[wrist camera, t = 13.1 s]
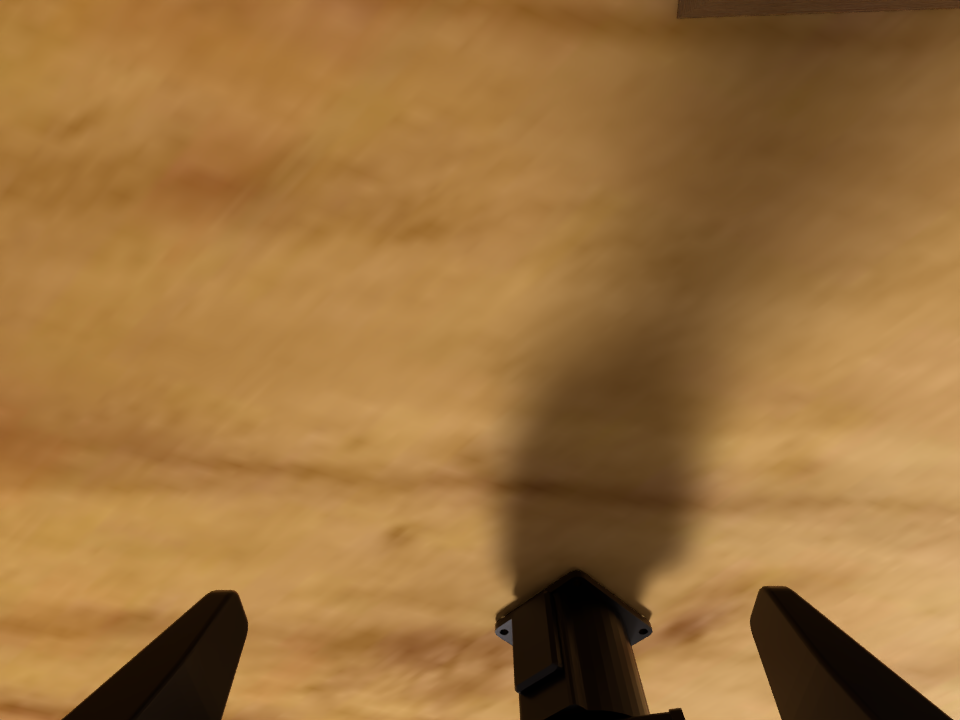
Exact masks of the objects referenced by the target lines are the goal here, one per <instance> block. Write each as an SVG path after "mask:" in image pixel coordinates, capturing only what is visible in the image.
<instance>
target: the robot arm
mask: <svg viewBox="0 0 960 720" xmlns="http://www.w3.org/2000/svg"><path fill="white" fill-rule="evenodd" d="M750 626H751V631H752V635H753V638H754V640H755V643H756V646H757V649H758V652H759V655H760V658H761V661H762V664H763V667H764V669H765V672H766V675H767V678H768V681H769V684H770V687H771V690H772V693H773V696H774V698H775V701H776V704H777V707H778V710H779V713H780V716H781V719H782V720H953V719H952V718H950V717H949V716H948V715H947V714H946V713H944V712H943V711H942V710H941V709H939V708H938V707H937V706H936V705H934V704H933V703H932V702H931V701H929V700H928V699H927V698H926V697H924V696H923V695H922V694H921V693H919V692H918V691H917V690H916V689H915V688H913V687H912V686H911V685H910V684H908V683H907V682H906V681H905V680H903V679H902V678H901V677H900V676H898V675H897V674H896V673H895V672H893V671H892V670H891V669H890V668H888V667H887V666H886V665H885V664H884V663H882V662H881V661H880V660H879V659H877V658H876V657H875V656H874V655H872V654H871V653H870V652H869V651H867V650H866V649H865V648H864V647H862V646H861V645H860V644H859V643H857V642H856V641H855V640H854V639H853V638H851V637H850V636H849V635H848V634H846V633H845V632H844V631H843V630H841V629H840V628H839V627H838V626H836V625H835V624H834V623H833V622H831V621H830V620H829V619H828V618H826V617H825V616H824V615H823V614H821V613H820V612H819V611H818V610H817V609H815V608H814V607H813V606H812V605H810V604H809V603H808V602H807V601H805V600H804V599H803V598H802V597H800V596H799V595H798V594H797V593H795V592H794V591H793V590H791V589H790V588H788V587H785V586H764V587H762V588H761V589H760V590H759V592H758V595H757V598H756V601H755V604H754V608H753V611H752V614H751V618H750ZM247 631H248V621H247V617H246V614H245V611H244V609H243V606H242V603H241V600H240V597H239V595H238V593H237V592H236V591H234V590H215V591H211V592H210V593H208V594H207V595H205V596H204V597H203V598H202V599H201V600H199V601H198V602H197V603H196V604H195V605H194V606H192V607H191V608H190V609H189V610H188V611H187V612H186V613H184V614H183V615H182V616H181V617H180V618H179V619H177V620H176V621H175V622H174V623H173V624H172V625H171V626H169V627H168V628H167V629H166V630H165V631H164V632H162V633H161V634H160V635H159V636H158V637H157V638H155V639H154V640H153V641H152V642H151V643H150V644H149V645H147V646H146V647H145V648H144V649H143V650H142V651H140V652H139V653H138V654H137V655H136V656H135V657H134V658H132V659H131V660H130V661H129V662H128V663H127V664H125V665H124V666H123V667H122V668H121V669H120V670H118V671H117V672H116V673H115V674H114V675H113V676H112V677H110V678H109V679H108V680H107V681H106V682H105V683H103V684H102V685H101V686H100V687H99V688H98V689H97V690H95V691H94V692H93V693H92V694H91V695H90V696H88V697H87V698H86V699H85V700H84V701H83V702H81V703H80V704H79V705H78V706H77V707H76V708H75V709H73V710H72V711H71V712H70V713H69V714H68V715H66V716H65V717H64V718H63V719H62V720H221V719H222V716H223V713H224V709H225V706H226V703H227V699H228V696H229V693H230V689H231V686H232V683H233V679H234V676H235V673H236V669H237V666H238V663H239V659H240V656H241V653H242V650H243V646H244V643H245V640H246V636H247ZM495 633H496V635H497V636H498V637H500V638H501V639H503V640H505V641H506V642H508V643H509V644H511V645H512V646H513V661H514V683H515V691H516V692H517V693H519V706H520V720H685V718H684V715H683V712H682V710H681V708H676V709H669V712H665V713H657V714H650V712H649V709H648V705H647V701H646V698H645V694H644V690H643V687H642V683H641V679H640V675H639V672H638V668H637V664H636V661H635V657H634V653H633V650H632V645H634V644H636V643H637V642H639V641H641V640H643V639H644V638H646V637H648V636H649V635H651V633H652V627H651V624H650V622H649V621H648V620H647V619H645V618H644V617H643V616H641V615H640V614H639V613H637V612H636V611H635V610H633V609H632V608H631V607H629V606H628V605H627V604H625V603H624V602H622V601H621V600H620V599H618V598H617V597H616V596H614V595H613V594H612V593H610V592H609V591H608V590H606V589H605V588H604V587H602V586H601V585H600V584H598V583H597V582H596V581H594V580H593V579H592V578H590V577H589V576H588V575H586V574H585V573H584V572H582V571H578V570H576V571H572V572H570V573H568V574H567V575H565V576H564V577H562V578H561V579H559V580H558V581H557V582H555V583H554V584H552V585H551V586H549V587H548V588H546V589H545V590H543V591H542V592H540V593H539V594H537V595H536V596H534V597H533V598H531V599H530V600H529V601H527V602H526V603H524V604H523V605H521V606H520V607H518V608H517V609H515V610H514V611H512V612H511V613H509V614H508V615H506V616H505V617H503V618H502V619H501V620H499V621H498V622H497V623H496V624H495Z"/></svg>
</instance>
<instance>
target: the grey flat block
mask: <svg viewBox="0 0 960 720" xmlns="http://www.w3.org/2000/svg"><path fill="white" fill-rule="evenodd" d="M948 8H960V0H679V4H678V12H677V18H702V17H730V16H757V15H784V14H811V13H839V12H866V11H893V10H921V9H948Z"/></svg>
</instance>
